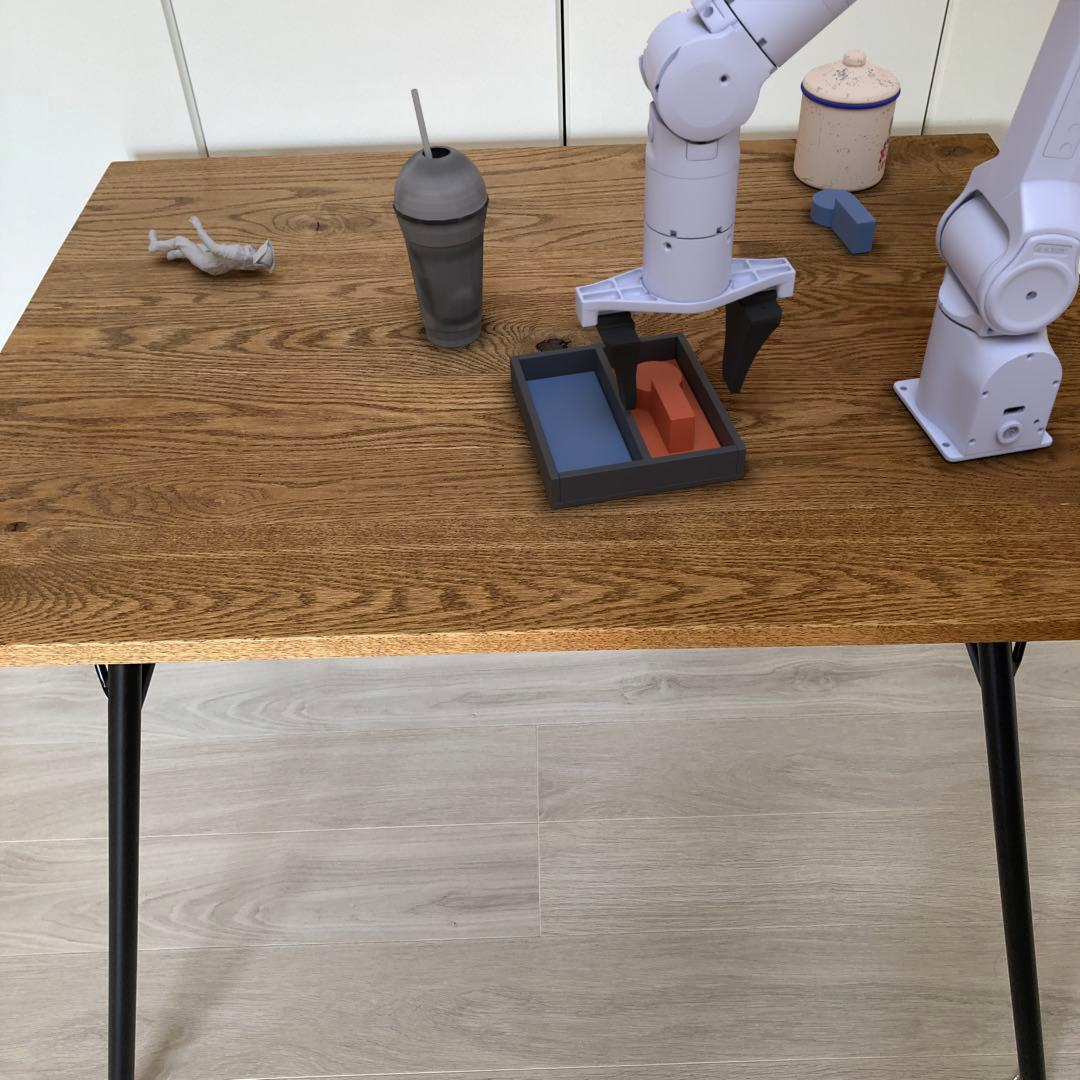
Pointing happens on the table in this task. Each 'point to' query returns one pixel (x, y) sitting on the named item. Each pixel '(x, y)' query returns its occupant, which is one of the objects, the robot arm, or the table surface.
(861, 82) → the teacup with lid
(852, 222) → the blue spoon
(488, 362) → the table surface
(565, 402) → the divided sorting tray
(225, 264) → the soldier figure
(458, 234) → the beverage cup
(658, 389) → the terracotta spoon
